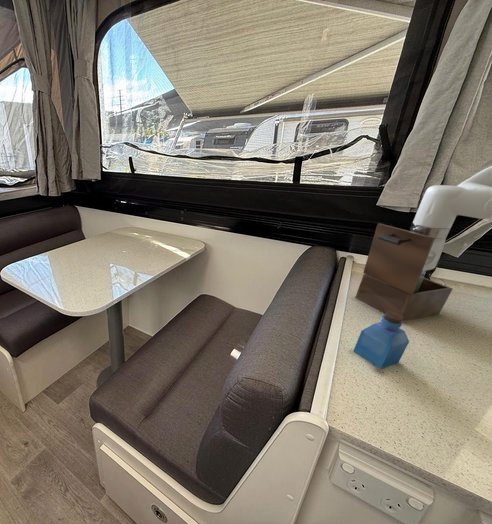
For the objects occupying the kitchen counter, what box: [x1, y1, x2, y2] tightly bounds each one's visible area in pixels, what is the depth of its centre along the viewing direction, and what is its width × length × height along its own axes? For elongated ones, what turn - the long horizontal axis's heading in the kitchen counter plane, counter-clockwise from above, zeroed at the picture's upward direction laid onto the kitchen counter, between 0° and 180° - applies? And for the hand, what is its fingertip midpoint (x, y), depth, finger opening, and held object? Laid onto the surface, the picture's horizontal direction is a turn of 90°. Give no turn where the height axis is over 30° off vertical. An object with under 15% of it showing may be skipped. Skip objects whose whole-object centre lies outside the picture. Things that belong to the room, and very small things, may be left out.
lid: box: [362, 222, 435, 294], centre depth 76 cm, size 16×14×5 cm
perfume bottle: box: [353, 311, 410, 370], centre depth 62 cm, size 6×6×12 cm
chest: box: [354, 273, 453, 322], centre depth 83 cm, size 16×14×9 cm
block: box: [414, 275, 425, 292], centre depth 81 cm, size 5×5×5 cm
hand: (402, 287), depth 82 cm, fingers closed on block, 5 cm apart
